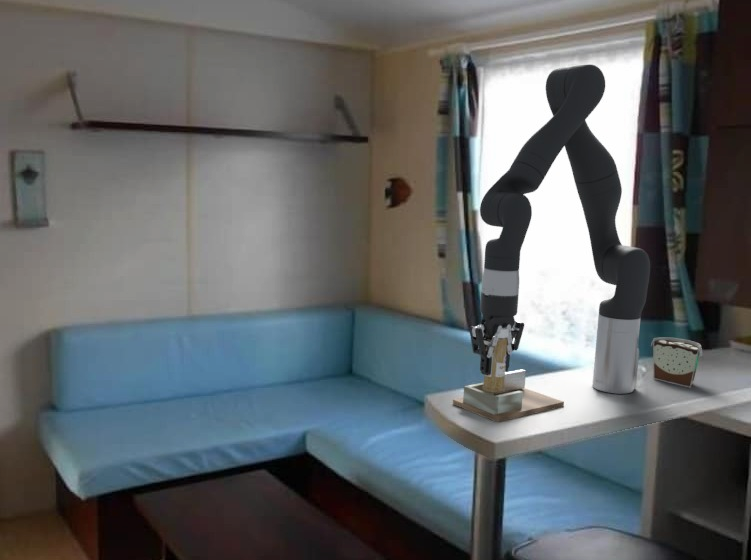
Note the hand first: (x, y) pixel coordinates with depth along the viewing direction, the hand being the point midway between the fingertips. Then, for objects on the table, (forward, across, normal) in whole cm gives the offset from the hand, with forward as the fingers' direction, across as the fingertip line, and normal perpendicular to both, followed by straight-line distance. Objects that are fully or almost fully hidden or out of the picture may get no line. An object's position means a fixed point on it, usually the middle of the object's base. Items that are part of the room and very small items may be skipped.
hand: (494, 372), depth 162 cm
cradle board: (+8, -6, 0) cm, 10 cm away
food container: (+8, -56, +7) cm, 58 cm away
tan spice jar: (+4, 0, 0) cm, 4 cm away
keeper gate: (+7, -9, -5) cm, 13 cm away
